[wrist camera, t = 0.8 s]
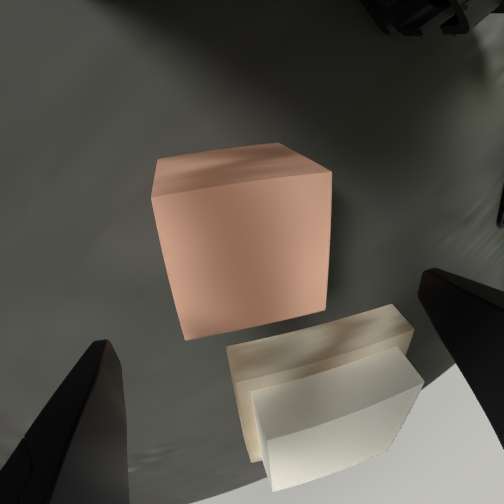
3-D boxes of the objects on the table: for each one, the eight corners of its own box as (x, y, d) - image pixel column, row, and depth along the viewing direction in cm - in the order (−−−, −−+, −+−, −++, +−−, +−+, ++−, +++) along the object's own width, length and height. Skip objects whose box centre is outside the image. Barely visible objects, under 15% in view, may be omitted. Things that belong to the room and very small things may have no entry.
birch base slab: (387, 299, 22) (414, 329, 19) (362, 395, 28) (378, 421, 25) (224, 340, 20) (235, 382, 17) (241, 430, 26) (251, 462, 23)
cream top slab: (396, 345, 19) (424, 381, 16) (370, 420, 24) (387, 450, 21) (250, 391, 18) (266, 440, 15) (261, 456, 23) (272, 491, 20)
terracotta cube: (277, 142, 14) (331, 171, 10) (281, 246, 17) (325, 309, 12) (157, 158, 13) (151, 197, 9) (177, 265, 16) (185, 340, 11)
